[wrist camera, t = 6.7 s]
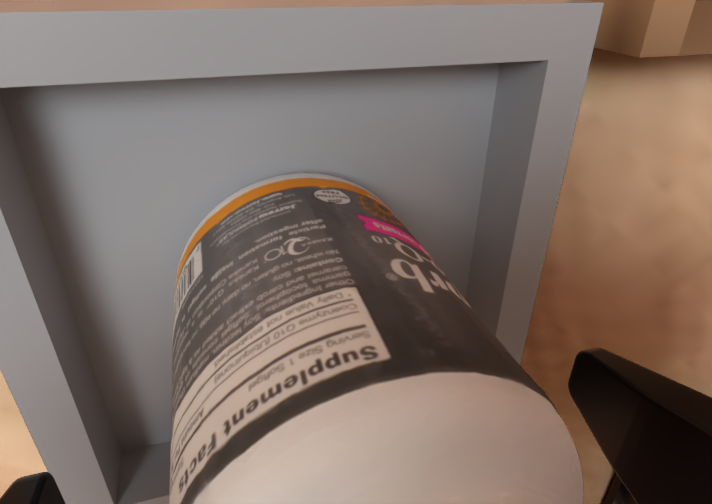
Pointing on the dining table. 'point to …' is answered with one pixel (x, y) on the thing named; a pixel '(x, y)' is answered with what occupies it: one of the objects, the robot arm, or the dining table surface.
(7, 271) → the tray
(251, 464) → the pill bottle
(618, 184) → the dining table surface
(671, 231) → the dining table surface
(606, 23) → the socket collar
